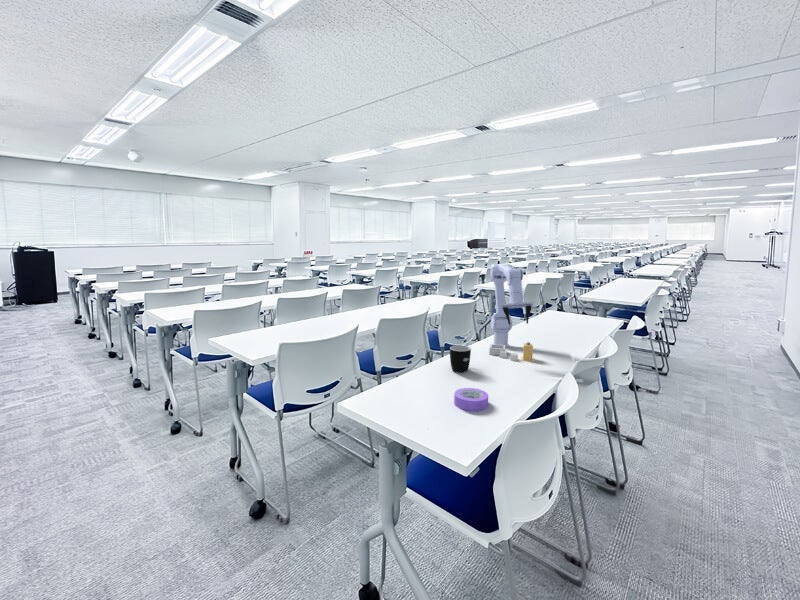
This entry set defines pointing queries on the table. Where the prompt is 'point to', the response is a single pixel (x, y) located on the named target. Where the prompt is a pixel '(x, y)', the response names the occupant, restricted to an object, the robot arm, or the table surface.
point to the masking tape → (471, 399)
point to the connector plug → (527, 351)
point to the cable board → (504, 352)
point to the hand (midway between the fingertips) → (518, 323)
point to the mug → (460, 358)
